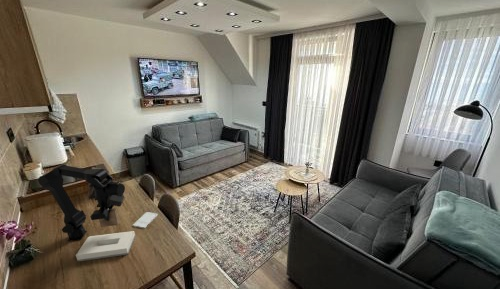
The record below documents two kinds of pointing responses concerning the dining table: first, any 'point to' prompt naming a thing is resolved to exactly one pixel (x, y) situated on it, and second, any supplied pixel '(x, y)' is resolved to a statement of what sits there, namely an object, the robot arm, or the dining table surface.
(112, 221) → the walnut plate
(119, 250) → the slotted board
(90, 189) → the owl
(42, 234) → the dining table surface
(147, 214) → the external hard drive
